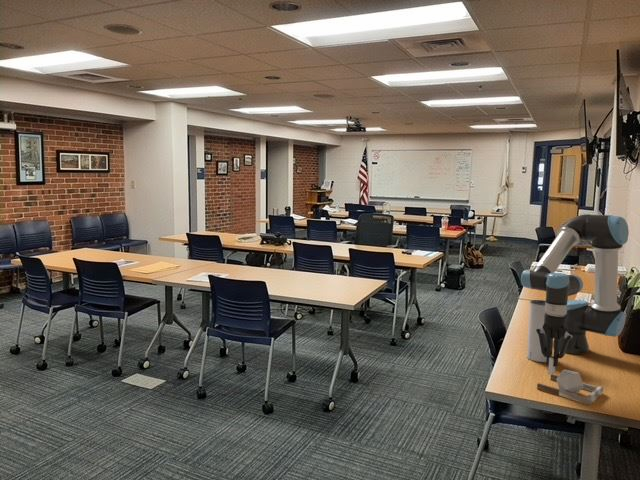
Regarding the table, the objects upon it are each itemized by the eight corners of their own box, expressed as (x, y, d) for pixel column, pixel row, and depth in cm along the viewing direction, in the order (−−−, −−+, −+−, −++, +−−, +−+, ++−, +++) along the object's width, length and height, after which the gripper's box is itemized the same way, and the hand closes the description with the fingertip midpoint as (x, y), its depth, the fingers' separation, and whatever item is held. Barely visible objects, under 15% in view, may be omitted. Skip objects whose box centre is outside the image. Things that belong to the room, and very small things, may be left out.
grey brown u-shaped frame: (551, 378, 196) (552, 371, 195) (602, 393, 182) (603, 385, 182) (536, 388, 186) (537, 381, 186) (589, 405, 173) (590, 397, 172)
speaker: (536, 363, 212) (540, 305, 209) (520, 355, 222) (524, 299, 219) (557, 361, 215) (561, 303, 212) (540, 353, 225) (544, 298, 222)
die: (585, 394, 183) (572, 368, 188) (590, 391, 176) (577, 364, 180) (562, 400, 185) (550, 374, 189) (566, 398, 177) (553, 370, 181)
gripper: (534, 312, 188) (530, 371, 191) (570, 319, 179) (565, 381, 181) (541, 309, 193) (538, 366, 196) (577, 315, 184) (572, 375, 187)
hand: (551, 373), depth 189 cm, fingers closed
